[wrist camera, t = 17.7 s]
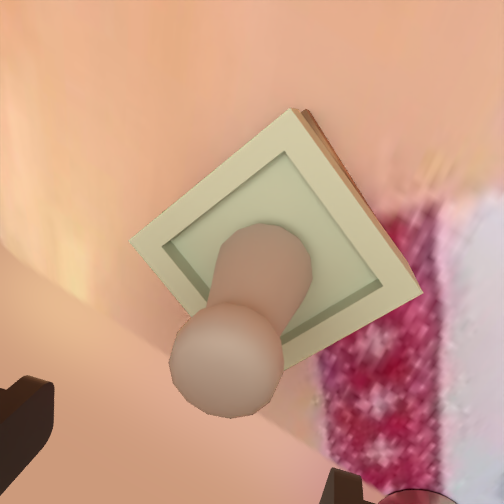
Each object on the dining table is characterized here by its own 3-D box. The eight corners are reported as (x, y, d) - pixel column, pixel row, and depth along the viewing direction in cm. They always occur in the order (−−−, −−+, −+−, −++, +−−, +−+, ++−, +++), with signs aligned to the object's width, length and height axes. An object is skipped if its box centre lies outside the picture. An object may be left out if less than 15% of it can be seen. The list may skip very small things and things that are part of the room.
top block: (407, 261, 29) (423, 293, 24) (263, 347, 33) (251, 389, 28) (298, 109, 27) (290, 107, 22) (161, 220, 32) (128, 240, 27)
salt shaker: (269, 314, 28) (222, 471, 16) (208, 256, 27) (110, 373, 15) (333, 259, 26) (335, 392, 14) (268, 195, 25) (212, 275, 13)
